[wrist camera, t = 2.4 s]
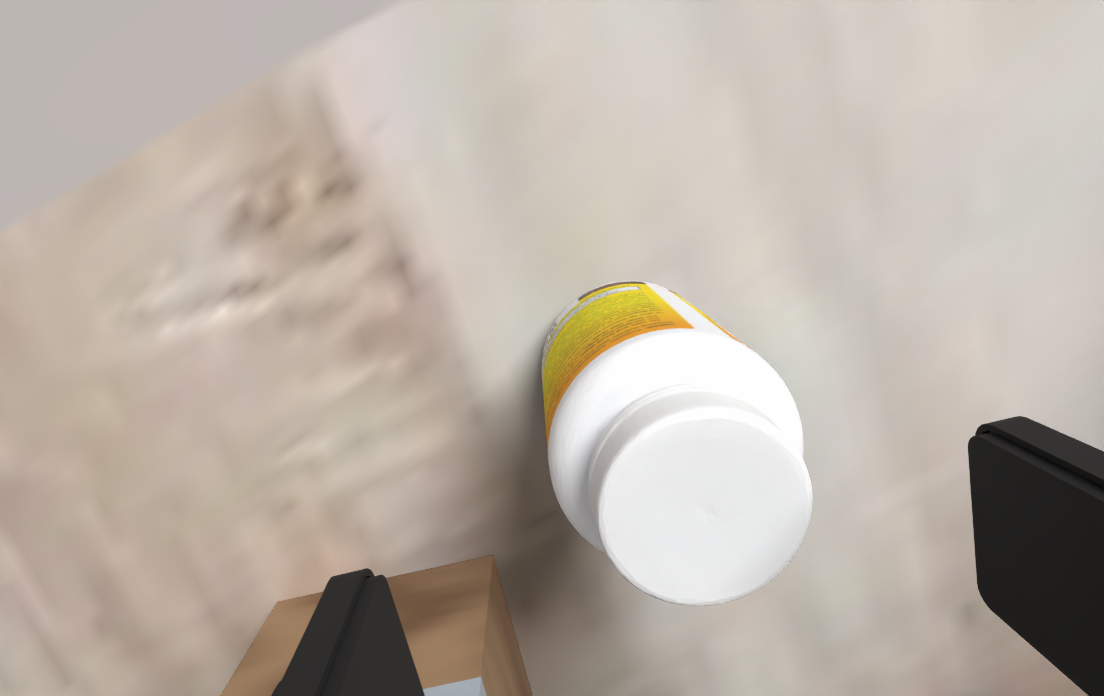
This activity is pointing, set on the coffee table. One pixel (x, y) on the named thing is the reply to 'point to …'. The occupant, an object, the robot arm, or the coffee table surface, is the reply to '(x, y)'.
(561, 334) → the supplement bottle
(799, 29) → the coffee table surface
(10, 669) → the coffee table surface
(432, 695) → the slate block
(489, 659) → the walnut block
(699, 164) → the coffee table surface
